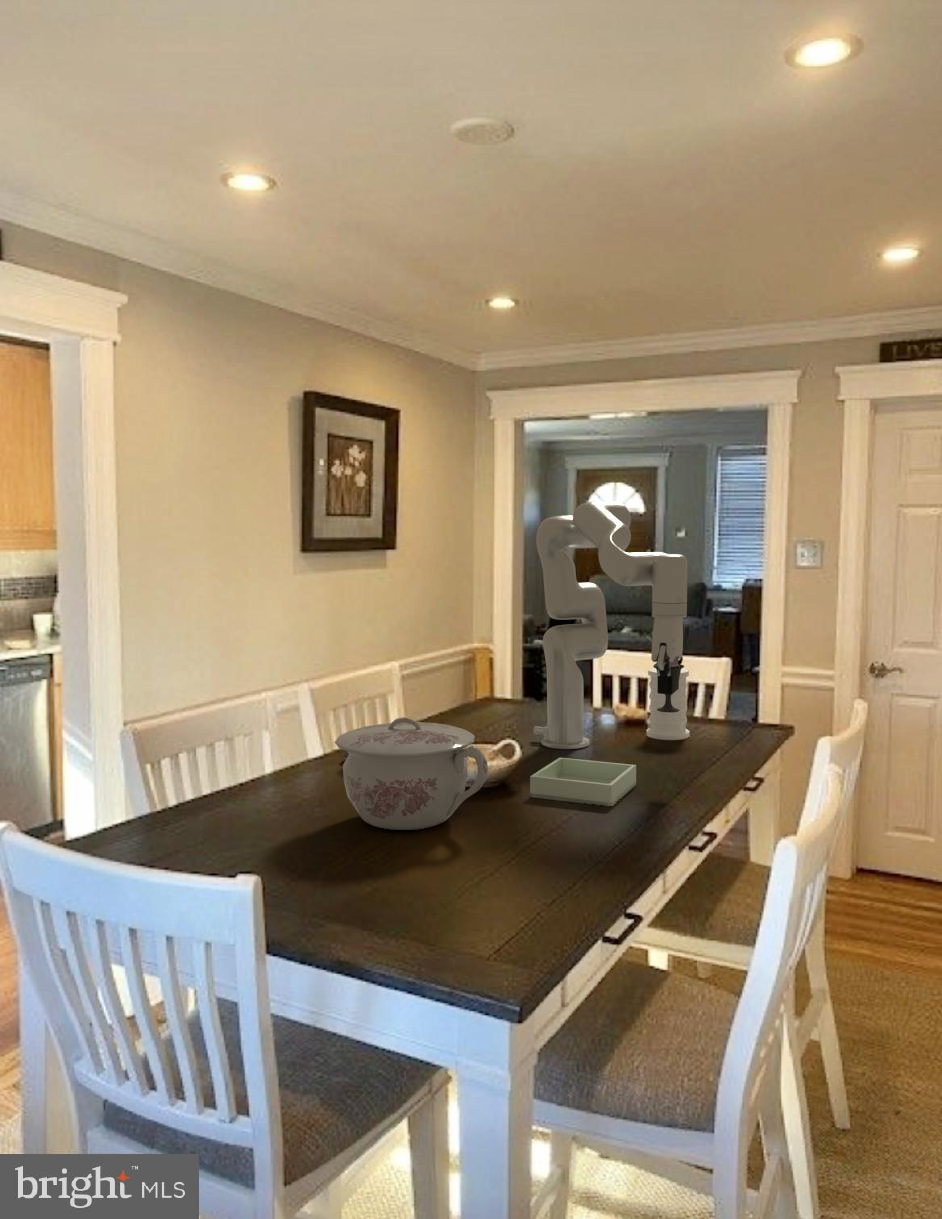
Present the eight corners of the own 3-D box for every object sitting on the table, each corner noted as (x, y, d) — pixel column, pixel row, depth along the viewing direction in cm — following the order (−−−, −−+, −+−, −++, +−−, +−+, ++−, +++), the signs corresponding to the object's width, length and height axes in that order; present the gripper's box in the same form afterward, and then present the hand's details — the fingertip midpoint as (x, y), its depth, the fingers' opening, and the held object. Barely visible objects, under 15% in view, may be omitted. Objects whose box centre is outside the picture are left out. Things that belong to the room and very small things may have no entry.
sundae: (646, 710, 214) (647, 643, 213) (663, 706, 219) (664, 640, 218) (672, 714, 210) (673, 646, 208) (688, 710, 215) (689, 643, 213)
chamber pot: (321, 811, 197) (318, 711, 196) (445, 794, 208) (444, 700, 206) (360, 853, 172) (358, 739, 170) (500, 832, 183) (499, 724, 181)
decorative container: (657, 741, 256) (657, 674, 255) (639, 732, 267) (639, 668, 266) (697, 738, 259) (697, 672, 257) (678, 729, 270) (678, 666, 268)
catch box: (530, 797, 205) (530, 776, 205) (559, 776, 222) (559, 757, 221) (611, 806, 198) (611, 785, 197) (636, 785, 214) (636, 765, 213)
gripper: (662, 606, 222) (661, 684, 223) (642, 613, 206) (641, 697, 208) (695, 607, 218) (693, 686, 220) (676, 614, 203) (675, 699, 205)
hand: (668, 690), depth 214 cm, fingers closed on sundae, 5 cm apart
